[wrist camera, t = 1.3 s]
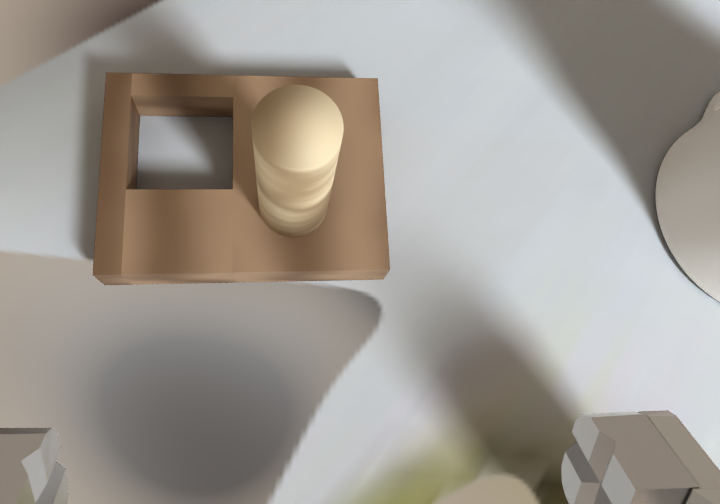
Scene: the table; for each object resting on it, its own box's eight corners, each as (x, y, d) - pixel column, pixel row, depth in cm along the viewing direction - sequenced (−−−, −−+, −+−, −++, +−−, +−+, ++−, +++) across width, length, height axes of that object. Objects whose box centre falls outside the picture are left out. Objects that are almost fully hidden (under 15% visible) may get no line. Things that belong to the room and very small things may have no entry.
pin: (326, 173, 38) (341, 85, 28) (328, 237, 36) (345, 168, 27) (258, 173, 37) (250, 83, 28) (258, 238, 36) (251, 168, 26)
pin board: (372, 98, 42) (377, 78, 40) (383, 279, 39) (389, 269, 36) (116, 93, 40) (106, 72, 38) (104, 284, 37) (92, 275, 34)
